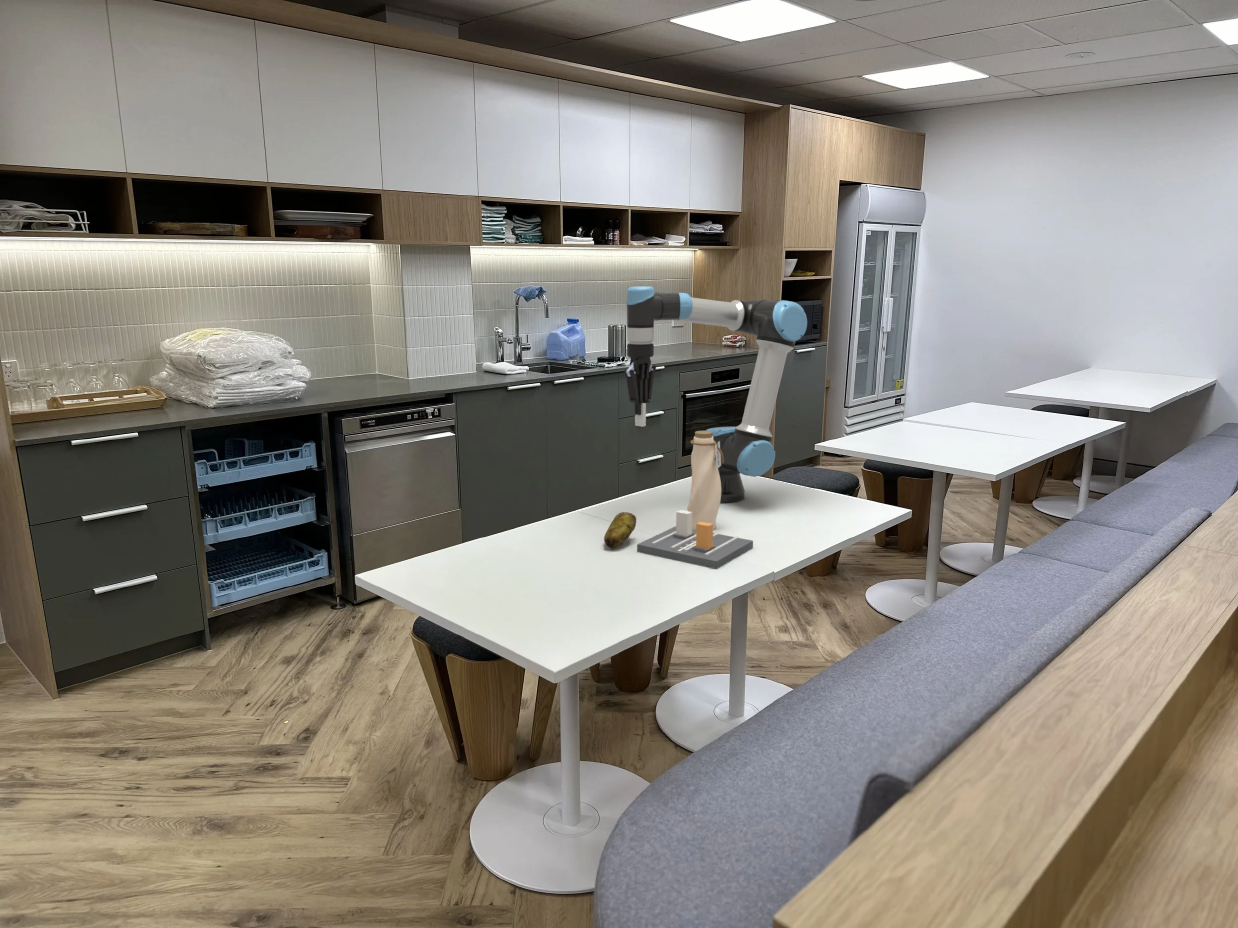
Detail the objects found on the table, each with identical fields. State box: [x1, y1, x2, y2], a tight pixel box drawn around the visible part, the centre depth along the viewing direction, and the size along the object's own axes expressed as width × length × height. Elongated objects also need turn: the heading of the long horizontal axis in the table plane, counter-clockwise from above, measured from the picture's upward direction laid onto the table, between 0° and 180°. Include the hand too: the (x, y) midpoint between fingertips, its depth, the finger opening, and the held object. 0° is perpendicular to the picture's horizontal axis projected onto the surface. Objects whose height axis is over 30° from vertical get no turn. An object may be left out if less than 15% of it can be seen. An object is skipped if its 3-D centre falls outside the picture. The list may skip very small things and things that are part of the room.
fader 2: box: [694, 522, 715, 553], centre depth 223 cm, size 4×4×7 cm
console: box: [636, 525, 754, 570], centre depth 230 cm, size 20×24×3 cm
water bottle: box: [686, 430, 724, 530], centre depth 247 cm, size 10×9×28 cm
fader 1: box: [674, 509, 694, 539], centre depth 234 cm, size 4×4×7 cm
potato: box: [603, 511, 637, 549], centre depth 235 cm, size 8×13×8 cm, turn 137°
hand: (640, 425), depth 246 cm, fingers closed
